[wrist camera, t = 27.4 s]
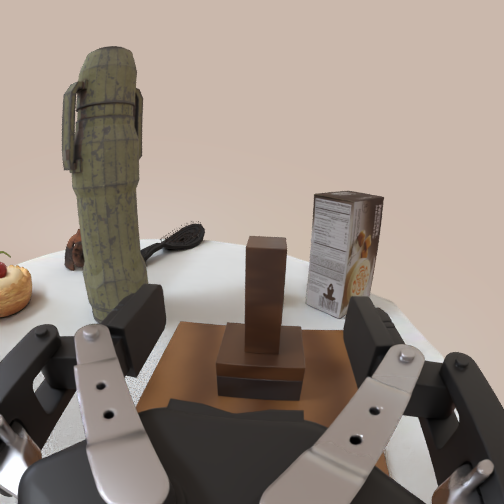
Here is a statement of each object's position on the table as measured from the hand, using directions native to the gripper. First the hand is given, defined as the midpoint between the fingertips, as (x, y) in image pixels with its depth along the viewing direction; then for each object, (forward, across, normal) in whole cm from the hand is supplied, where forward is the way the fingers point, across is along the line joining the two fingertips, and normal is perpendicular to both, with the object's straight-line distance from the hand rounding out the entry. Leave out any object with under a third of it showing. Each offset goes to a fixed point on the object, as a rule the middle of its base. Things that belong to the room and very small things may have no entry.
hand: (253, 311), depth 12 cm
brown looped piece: (+36, +37, +15) cm, 54 cm away
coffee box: (+28, -11, +15) cm, 34 cm away
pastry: (+16, +42, +15) cm, 47 cm away
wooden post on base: (+10, 0, +13) cm, 16 cm away
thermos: (+21, +20, +15) cm, 33 cm away
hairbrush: (+47, +22, +15) cm, 54 cm away
